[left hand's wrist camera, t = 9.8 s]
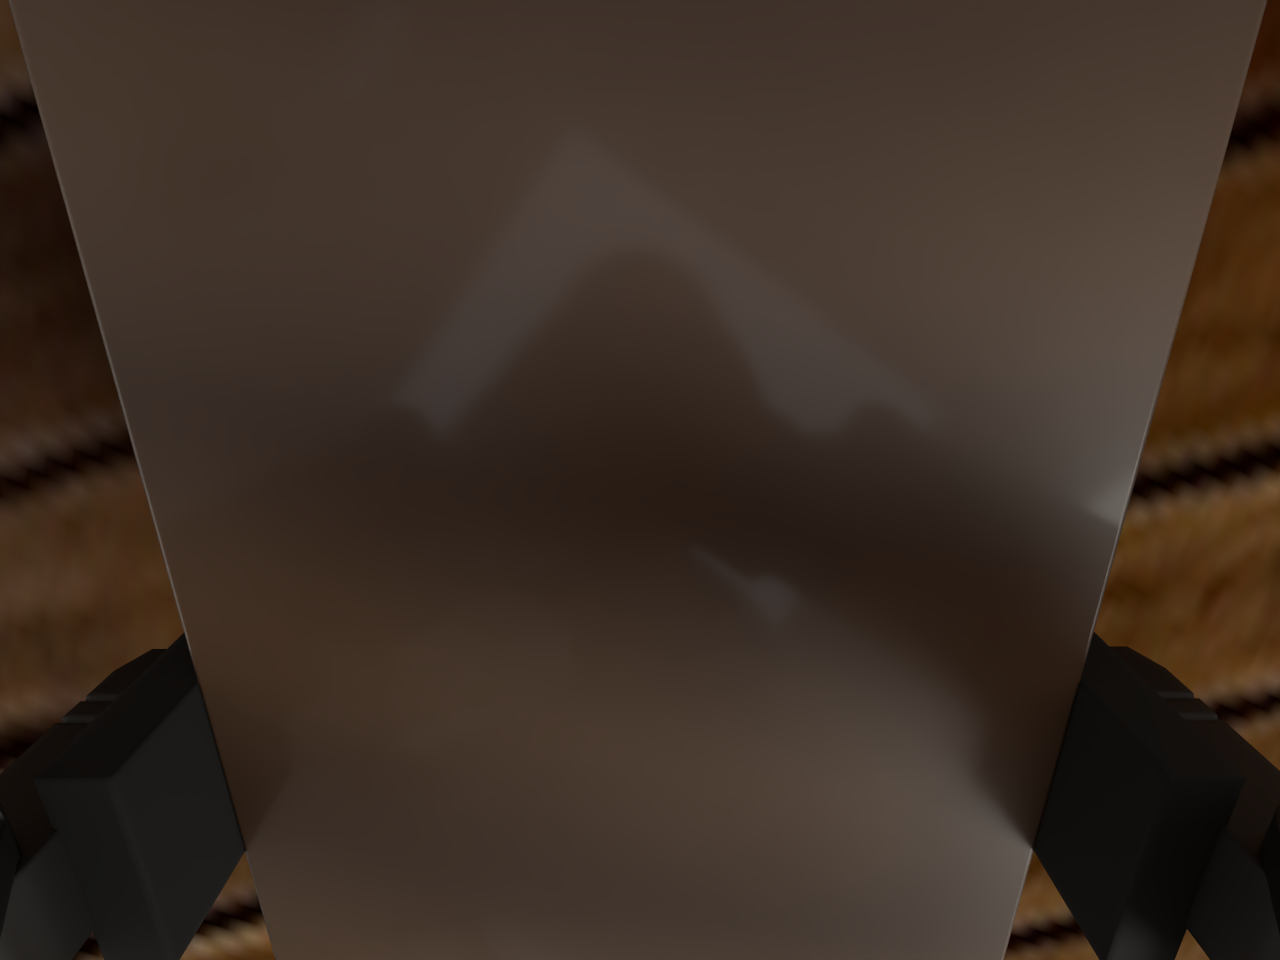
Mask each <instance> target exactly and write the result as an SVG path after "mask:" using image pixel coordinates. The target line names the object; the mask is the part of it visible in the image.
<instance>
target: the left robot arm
mask: <svg viewBox="0 0 1280 960" xmlns="http://www.w3.org/2000/svg"><path fill="white" fill-rule="evenodd" d="M1193 694H1194V693H1192V692H1191V691H1190V690H1189V689H1188V688H1187V687H1186V686H1185V685H1184V684H1182V683H1181V682H1180V681H1179V680H1178V679H1177V678H1176V677H1175V676H1173V675H1172V674H1171V673H1170V672H1169V671H1168V670H1167V669H1166V668H1164V667H1162V666H1161V665H1159V664H1157V663H1155V662H1154V661H1152V660H1150V659H1148V658H1146V657H1145V656H1143V655H1141V654H1139V653H1138V652H1136V651H1134V650H1132V649H1131V648H1129V647H1109V646H1108V645H1107V644H1106V643H1105V642H1104V641H1103V640H1102V639H1101V638H1100V637H1099V636H1098V635H1097V634H1096V633H1095V632H1093V636H1092V639H1091V643H1090V647H1089V650H1088V654H1087V658H1086V661H1085V665H1084V668H1083V672H1082V676H1081V679H1080V683H1079V687H1078V690H1077V694H1076V698H1075V701H1074V705H1073V709H1072V712H1071V716H1070V719H1069V723H1068V727H1067V730H1066V734H1065V738H1064V741H1063V745H1062V749H1061V752H1060V756H1059V759H1058V763H1057V767H1056V770H1055V774H1054V778H1053V781H1052V785H1051V789H1050V792H1049V796H1048V799H1047V803H1046V807H1045V810H1044V814H1043V818H1042V821H1041V825H1040V829H1039V832H1038V836H1037V840H1036V843H1035V847H1034V852H1035V853H1036V855H1037V857H1038V858H1039V860H1040V862H1041V863H1042V865H1043V867H1044V868H1045V870H1046V872H1047V873H1048V875H1049V877H1050V878H1051V880H1052V882H1053V883H1054V885H1055V887H1056V888H1057V890H1058V891H1059V893H1060V895H1061V896H1062V898H1063V900H1064V901H1065V903H1066V905H1067V906H1068V908H1069V910H1070V911H1071V913H1072V915H1073V916H1074V918H1075V920H1076V921H1077V923H1078V925H1079V926H1080V928H1081V930H1082V931H1083V933H1084V935H1085V936H1086V938H1087V940H1088V941H1089V943H1090V945H1091V946H1092V948H1093V950H1094V951H1095V953H1096V955H1097V956H1098V958H1099V960H1175V957H1176V955H1177V952H1178V950H1179V947H1180V945H1181V942H1182V939H1183V937H1184V934H1185V932H1186V929H1188V930H1189V932H1190V933H1191V934H1192V936H1193V937H1194V938H1195V940H1196V941H1197V943H1198V944H1199V945H1200V947H1201V948H1202V949H1203V951H1204V952H1205V953H1206V955H1207V956H1208V957H1209V959H1210V960H1280V771H1279V770H1278V769H1277V768H1276V767H1275V766H1274V765H1273V764H1271V763H1270V762H1269V761H1268V760H1267V759H1266V758H1265V757H1264V756H1262V755H1261V754H1260V753H1259V752H1258V751H1257V750H1256V749H1255V748H1254V747H1252V746H1251V745H1250V744H1249V743H1248V742H1247V741H1246V740H1245V739H1244V738H1242V737H1241V736H1240V735H1239V734H1238V733H1237V732H1236V731H1235V730H1234V729H1232V728H1231V727H1230V726H1229V725H1228V724H1227V723H1226V722H1225V721H1224V720H1218V718H1217V714H1216V713H1215V712H1214V711H1212V710H1211V709H1210V708H1209V707H1208V706H1207V705H1206V704H1205V703H1204V702H1202V701H1201V700H1200V699H1195V698H1194V696H1193ZM244 852H245V848H244V845H243V841H242V837H241V834H240V830H239V827H238V823H237V820H236V816H235V812H234V809H233V805H232V802H231V798H230V794H229V791H228V787H227V784H226V780H225V777H224V773H223V769H222V766H221V762H220V759H219V755H218V751H217V748H216V744H215V741H214V737H213V733H212V730H211V726H210V723H209V719H208V716H207V712H206V708H205V705H204V701H203V698H202V694H201V690H200V687H199V683H198V680H197V676H196V673H195V669H194V665H193V662H192V658H191V655H190V651H189V647H188V644H187V640H186V637H185V633H183V634H182V635H181V636H180V637H179V638H178V639H177V640H176V641H175V642H174V643H173V644H172V645H171V646H170V647H169V648H168V649H152V650H150V651H148V652H147V653H145V654H143V655H141V656H140V657H138V658H136V659H134V660H132V661H131V662H129V663H127V664H125V665H124V666H122V667H120V668H118V669H117V670H115V671H114V672H113V673H111V674H110V675H109V676H108V677H107V678H106V679H105V680H104V681H103V682H101V683H100V684H99V685H98V686H97V687H96V688H95V689H94V690H93V691H92V692H90V693H89V694H88V695H87V696H86V701H80V702H79V703H78V704H77V705H76V706H75V707H74V708H73V709H72V710H71V711H69V712H68V713H67V714H66V715H65V716H64V717H63V721H62V723H56V724H55V725H54V726H53V727H52V728H51V729H50V730H48V731H47V732H46V733H45V734H44V735H43V736H42V737H41V738H40V739H38V740H37V741H36V742H35V743H34V744H33V745H32V746H31V747H30V748H29V749H27V750H26V751H25V752H24V753H23V754H22V755H21V756H20V757H19V758H17V759H16V760H15V761H14V762H13V763H12V764H11V765H10V766H9V767H8V768H6V769H5V770H4V771H3V772H2V773H1V774H0V960H72V959H73V958H74V956H75V955H76V953H77V952H78V951H79V949H80V948H81V947H82V945H83V944H84V943H85V941H86V940H87V939H88V937H89V936H90V935H91V933H92V932H94V935H95V937H96V940H97V942H98V945H99V947H100V950H101V952H102V955H103V957H104V960H180V958H181V957H182V955H183V953H184V952H185V950H186V948H187V947H188V945H189V943H190V942H191V940H192V938H193V937H194V935H195V933H196V932H197V930H198V928H199V927H200V925H201V923H202V922H203V920H204V918H205V917H206V915H207V913H208V912H209V910H210V908H211V907H212V905H213V903H214V902H215V900H216V898H217V897H218V895H219V893H220V892H221V890H222V888H223V887H224V885H225V883H226V882H227V880H228V878H229V877H230V875H231V873H232V872H233V870H234V868H235V867H236V865H237V863H238V862H239V860H240V859H241V857H242V855H243V854H244Z"/></svg>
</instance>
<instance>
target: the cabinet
mask: <svg viewBox="0 0 1280 960" xmlns="http://www.w3.org/2000/svg"><path fill="white" fill-rule="evenodd" d="M8 2H9V5H10V9H11V13H12V16H13V20H14V23H15V27H16V30H17V34H18V38H19V41H20V45H21V48H22V52H23V56H24V59H25V63H26V66H27V70H28V74H29V77H30V81H31V84H32V88H33V91H34V95H35V99H36V102H37V106H38V109H39V113H40V117H41V120H42V124H43V127H44V131H45V135H46V138H47V142H48V145H49V149H50V152H51V156H52V160H53V163H54V167H55V170H56V174H57V178H58V181H59V185H60V188H61V192H62V195H63V199H64V203H65V206H66V210H67V213H68V217H69V221H70V224H71V228H72V231H73V235H74V239H75V242H76V246H77V249H78V253H79V256H80V260H81V264H82V267H83V271H84V274H85V278H86V282H87V285H88V289H89V292H90V296H91V299H92V303H93V307H94V310H95V314H96V317H97V321H98V325H99V328H100V332H101V335H102V339H103V343H104V346H105V350H106V353H107V357H108V360H109V364H110V368H111V371H112V375H113V378H114V382H115V386H116V389H117V393H118V396H119V400H120V404H121V407H122V411H123V414H124V418H125V421H126V425H127V429H128V432H129V436H130V439H131V443H132V447H133V450H134V454H135V457H136V461H137V464H138V468H139V472H140V475H141V479H142V482H143V486H144V490H145V493H146V497H147V500H148V504H149V508H150V511H151V515H152V518H153V522H154V525H155V529H156V533H157V536H158V540H159V543H160V547H161V551H162V554H163V558H164V561H165V565H166V568H167V572H168V576H169V579H170V583H171V586H172V590H173V594H174V597H175V601H176V604H177V608H178V612H179V615H180V619H181V622H182V626H183V629H184V633H185V637H186V640H187V644H188V647H189V651H190V655H191V658H192V662H193V665H194V669H195V673H196V676H197V680H198V683H199V687H200V690H201V694H202V698H203V701H204V705H205V708H206V712H207V716H208V719H209V723H210V726H211V730H212V733H213V737H214V741H215V744H216V748H217V751H218V755H219V759H220V762H221V766H222V769H223V773H224V777H225V780H226V784H227V787H228V791H229V794H230V798H231V802H232V805H233V809H234V812H235V816H236V820H237V823H238V827H239V830H240V834H241V837H242V841H243V845H244V848H245V852H246V855H247V859H248V863H249V866H250V870H251V873H252V877H253V881H254V884H255V888H256V891H257V895H258V898H259V902H260V906H261V909H262V913H263V916H264V920H265V924H266V927H267V931H268V934H269V938H270V942H271V945H272V949H273V952H274V956H275V959H276V960H1004V956H1005V952H1006V949H1007V945H1008V941H1009V938H1010V934H1011V930H1012V927H1013V923H1014V920H1015V916H1016V912H1017V909H1018V905H1019V901H1020V898H1021V894H1022V890H1023V887H1024V883H1025V880H1026V876H1027V872H1028V869H1029V865H1030V861H1031V858H1032V854H1033V850H1034V847H1035V843H1036V840H1037V836H1038V832H1039V829H1040V825H1041V821H1042V818H1043V814H1044V810H1045V807H1046V803H1047V799H1048V796H1049V792H1050V789H1051V785H1052V781H1053V778H1054V774H1055V770H1056V767H1057V763H1058V759H1059V756H1060V752H1061V749H1062V745H1063V741H1064V738H1065V734H1066V730H1067V727H1068V723H1069V719H1070V716H1071V712H1072V709H1073V705H1074V701H1075V698H1076V694H1077V690H1078V687H1079V683H1080V679H1081V676H1082V672H1083V668H1084V665H1085V661H1086V658H1087V654H1088V650H1089V647H1090V643H1091V639H1092V636H1093V632H1094V628H1095V625H1096V621H1097V618H1098V614H1099V610H1100V607H1101V603H1102V599H1103V596H1104V592H1105V588H1106V585H1107V581H1108V577H1109V574H1110V570H1111V567H1112V563H1113V559H1114V556H1115V552H1116V548H1117V545H1118V541H1119V537H1120V534H1121V530H1122V527H1123V523H1124V519H1125V516H1126V512H1127V508H1128V505H1129V501H1130V497H1131V494H1132V490H1133V487H1134V483H1135V479H1136V476H1137V472H1138V468H1139V465H1140V461H1141V457H1142V454H1143V450H1144V446H1145V443H1146V439H1147V436H1148V432H1149V428H1150V425H1151V421H1152V417H1153V414H1154V410H1155V406H1156V403H1157V399H1158V396H1159V392H1160V388H1161V385H1162V381H1163V377H1164V374H1165V370H1166V366H1167V363H1168V359H1169V356H1170V352H1171V348H1172V345H1173V341H1174V337H1175V334H1176V330H1177V326H1178V323H1179V319H1180V315H1181V312H1182V308H1183V305H1184V301H1185V297H1186V294H1187V290H1188V286H1189V283H1190V279H1191V275H1192V272H1193V268H1194V265H1195V261H1196V257H1197V254H1198V250H1199V246H1200V243H1201V239H1202V235H1203V232H1204V228H1205V225H1206V221H1207V217H1208V214H1209V210H1210V206H1211V203H1212V199H1213V195H1214V192H1215V188H1216V184H1217V181H1218V177H1219V174H1220V170H1221V166H1222V163H1223V159H1224V155H1225V152H1226V148H1227V144H1228V141H1229V137H1230V134H1231V130H1232V126H1233V123H1234V119H1235V115H1236V112H1237V108H1238V104H1239V101H1240V97H1241V94H1242V90H1243V86H1244V83H1245V79H1246V75H1247V72H1248V68H1249V64H1250V61H1251V57H1252V53H1253V50H1254V46H1255V43H1256V39H1257V35H1258V32H1259V28H1260V24H1261V21H1262V17H1263V13H1264V10H1265V6H1266V3H1267V0H8Z"/></svg>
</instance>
